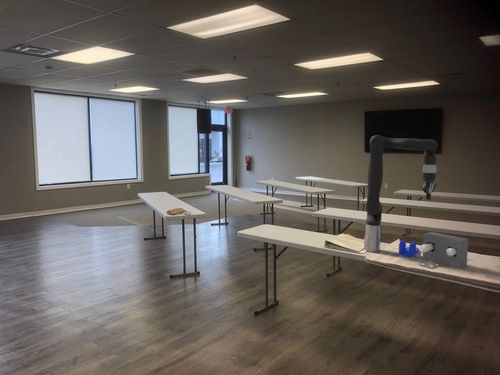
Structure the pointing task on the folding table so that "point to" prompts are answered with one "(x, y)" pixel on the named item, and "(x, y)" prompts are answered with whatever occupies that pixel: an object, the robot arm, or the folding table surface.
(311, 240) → the folding table surface
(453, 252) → the near button
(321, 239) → the folding table surface
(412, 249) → the bracket
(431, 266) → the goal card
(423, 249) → the far button
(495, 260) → the folding table surface
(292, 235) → the folding table surface
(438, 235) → the grey button panel
